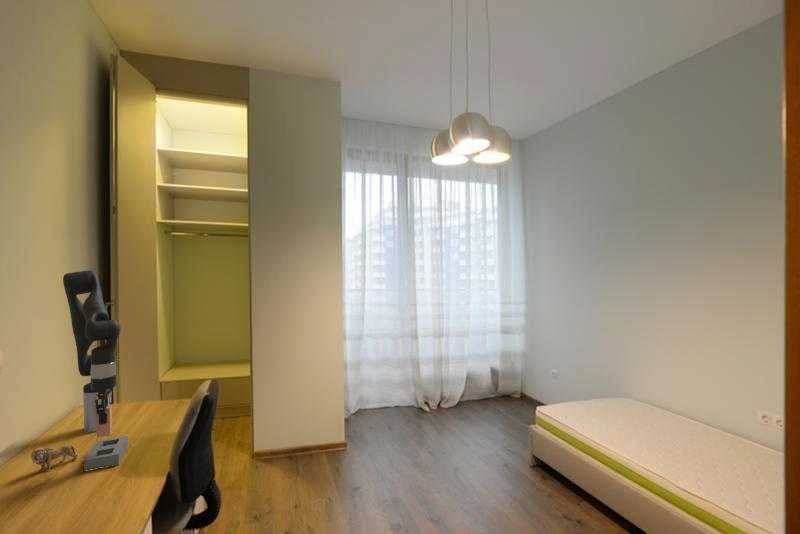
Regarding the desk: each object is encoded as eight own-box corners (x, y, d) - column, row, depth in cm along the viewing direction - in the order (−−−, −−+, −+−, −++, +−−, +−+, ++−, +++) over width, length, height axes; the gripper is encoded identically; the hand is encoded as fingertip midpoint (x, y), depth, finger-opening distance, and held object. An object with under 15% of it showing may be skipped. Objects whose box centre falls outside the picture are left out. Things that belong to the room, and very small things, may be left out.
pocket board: (97, 451, 155) (97, 441, 155) (127, 445, 160) (127, 435, 160) (84, 471, 139) (84, 460, 139) (118, 465, 144) (118, 453, 144)
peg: (99, 433, 147) (98, 406, 147) (112, 431, 148) (111, 404, 148) (96, 437, 143) (96, 409, 143) (110, 435, 145) (109, 408, 145)
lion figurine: (37, 477, 136) (37, 451, 136) (26, 475, 137) (26, 449, 137) (82, 458, 150) (82, 434, 150) (72, 456, 151) (71, 432, 152)
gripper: (95, 372, 151) (96, 417, 150) (85, 381, 138) (86, 430, 138) (119, 369, 154) (120, 413, 154) (111, 378, 141) (112, 426, 141)
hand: (104, 421), depth 146 cm, fingers closed on peg, 4 cm apart
